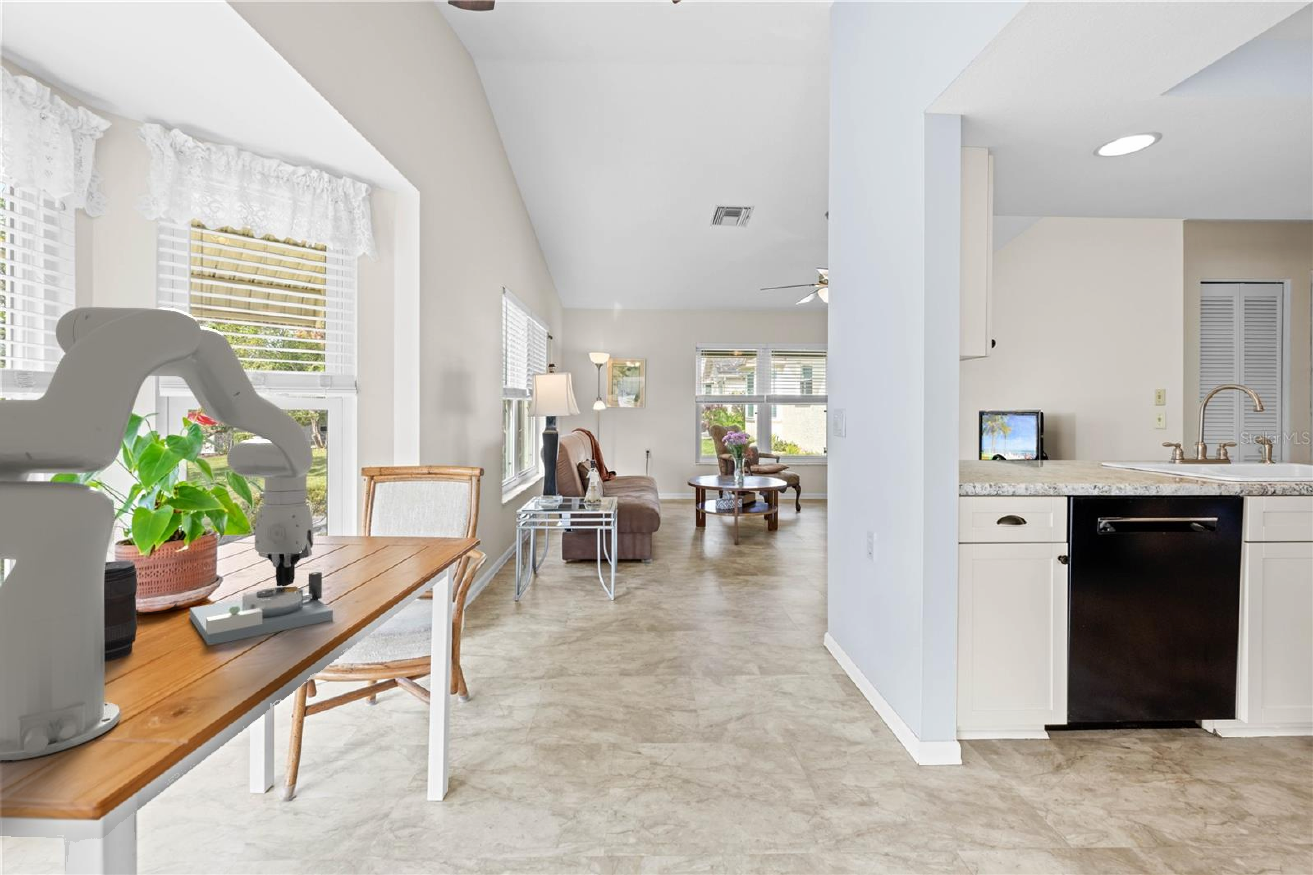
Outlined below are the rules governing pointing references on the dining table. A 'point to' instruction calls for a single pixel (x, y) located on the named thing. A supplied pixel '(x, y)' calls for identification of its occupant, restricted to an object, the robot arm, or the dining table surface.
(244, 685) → the dining table surface
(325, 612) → the level board
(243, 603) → the dial
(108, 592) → the camera lens
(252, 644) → the dining table surface
